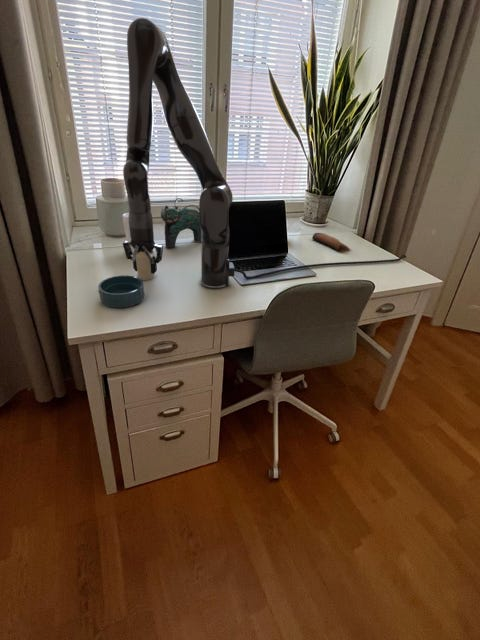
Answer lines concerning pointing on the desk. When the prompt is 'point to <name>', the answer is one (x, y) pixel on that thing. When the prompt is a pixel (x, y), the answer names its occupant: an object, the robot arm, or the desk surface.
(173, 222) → the ceramic cat
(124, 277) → the bowl
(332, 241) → the brown tapered cylinder
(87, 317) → the desk surface
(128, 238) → the drinking glass
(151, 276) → the candle
